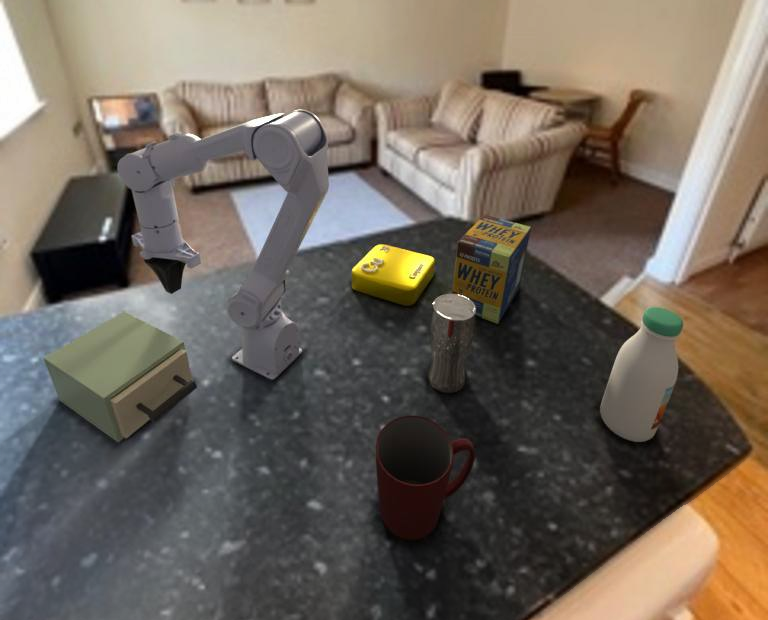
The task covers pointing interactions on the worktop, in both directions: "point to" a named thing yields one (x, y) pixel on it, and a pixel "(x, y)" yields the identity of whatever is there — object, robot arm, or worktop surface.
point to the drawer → (153, 393)
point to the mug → (416, 474)
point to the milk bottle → (643, 377)
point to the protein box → (491, 265)
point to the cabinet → (107, 366)
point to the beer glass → (450, 340)
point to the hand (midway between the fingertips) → (173, 290)
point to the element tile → (393, 274)
